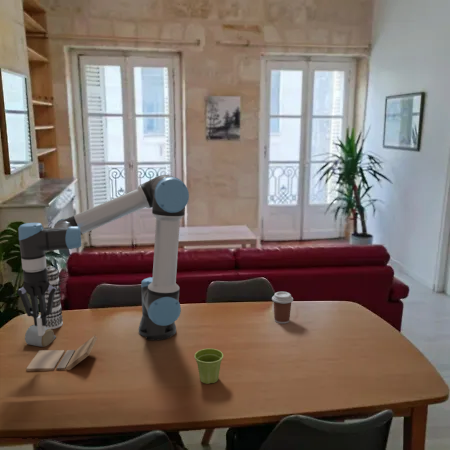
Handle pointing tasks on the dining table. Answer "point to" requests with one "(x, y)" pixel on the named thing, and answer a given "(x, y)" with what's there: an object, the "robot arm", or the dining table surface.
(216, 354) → the plant pot
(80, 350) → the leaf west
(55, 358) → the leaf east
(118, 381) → the dining table surface
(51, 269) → the decorative candle
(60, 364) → the centre strip
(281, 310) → the coffee cup
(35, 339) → the ceramic mug
